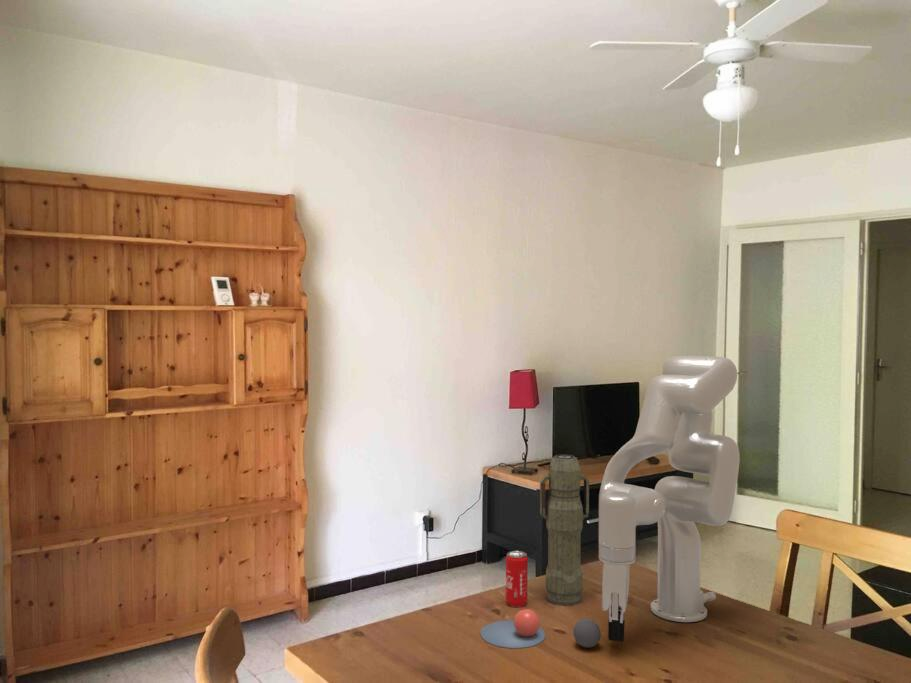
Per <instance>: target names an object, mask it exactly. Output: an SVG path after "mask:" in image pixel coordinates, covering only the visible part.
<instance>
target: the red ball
mask: <svg viewBox="0 0 911 683" xmlns="http://www.w3.org/2000/svg"><path fill="white" fill-rule="evenodd" d="M513 620H514V627H515V630H516V631H517V632H518V633H519V634H520V635H521V636H524V637H531V636H533V635H535V634H536V633H537V631H538V630H539V627H540V626H541V623H540V618H539V616H538V613H536V612H535V611H533V610H532V609H528V608H526V609H521V610H519V611H518V612H517V613H516V614H515V616H514V619H513ZM540 628H541V627H540Z"/></svg>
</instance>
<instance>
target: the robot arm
mask: <svg viewBox="0 0 911 683" xmlns="http://www.w3.org/2000/svg"><path fill="white" fill-rule="evenodd" d="M737 379H738V370H737V367H736V364H735V363H734V361H732V359H729V358H727V357H723V356H710V355H709V356H708V355H704V356H703V355H688V354H687V355H685V354H684V355H674V356H670V357H669V358H667V359H665V361H664V362H663V364H662V374H660V375H657V376H655V377H653V378H652V379H651V380H650V381H649V383H648V384H647V388H646V392H645V396H644V398H643V403H642V406H641V411H640V414H639V418H638V422H637V426H636V429H635V432H634V435H633V437H632V438H631V439H629V441H626V443H625V444H623V445H622V446H621V447H620V449H618V451H616V452H615V454H614V455H613V456H612V457H611V458H610V460H609V461H608V463H607V465H606V468H605V469H604V473H603V477H602V480H601V484H600V488H599V493H598V560H599V561H600V562H602V577H601V578H602V582H601V589H602V590H601V610H602V611H603V612H605V611H608V614H609V615H608V617H609V618H608V620H607V623H608V628H607V629H608V631H607V634H608V635H607V636H608V637H607V639H608V641H612V642H618V643H619V642H622V643H623V642H625V628H626V626H625V618H624V616H625V615H624V613H626V611H627V606H628V598H629V592H630V591H629V587H630V565H632V564H634V563H635V562H636V550H637V549H636V547H637V546H636V539H637V538H636V532H637V530H636V528H637V526H645V525H646V526H648V525H653V524H657V598H656V599H654V600H652V601H651V602H650V610H651V612H652V613H653V614H654V615H656V616H657V617H660V618H662V619H663V620H667V621H671V622H672V621H673V622H679V623H693V622H699V621H702V620H704V619H706V618H707V617H708V609H707V607H706V606H705V605H704V604H706V603H707V602H710V601H714V600H716V599H717V595H716V593H715V591H709V592H705V593H704V591H703V590H702V589H701V562H702V561H701V554H702V553H701V549H702V548H701V545H702V541H701V540H702V539H701V536H700V533H699V529H698V527H697V525H696V523H698V524H703V525H708V526H714V527H721V526H724V525H726V523H727V522H729V520H730V518H731V514H732V513H733V507H734V502H735V495H736V490H737V483H738V477H739V471H740V469H739V468H740V463H741V462H740V459H741V458H740V457H741V456H740V449H739V446H738V444H737V442H736V441H735V440H734V439H733V438H731V437H730V436H726V435H721V434H715V433H714V434H713V433H711V430H712V420H713V409H714V408H715V407H717V406H718V405H719V404H720V403H721V402H722V401H723V400H724V399H725V398H726V397H728V395H729V394H730V393H731V392H732V391H733V389H735V386H736V383H737V381H738V380H737ZM666 452H668V456H667V457H668V462H669V465H670V466H671V467H672V468H674V469H675V470H678V471H680V472H681V471H682V472H687V473H691V474H697V475H698V474H699V475H704V476H709V480H708V481H706V480H701V479H697V478H691V477H684V476H677V475H671V476H664V477H663V478H661V479H660V480H658V481H657V483H656V484H655V487H654V489H653V488H650V487H649V488H648V487H645V486H638V485H636V484H635V485H634V484H629V483H628V484H627V483H625V480H626V477H627V475H628V474H629V472H630V471H631V469H632V468H633V467H635V466H636V465H637V464H638V463H640V462H643V461H644V460H646V459H648V458H652V457H655V456H658V455H661V454H664V453H666Z"/></svg>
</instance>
